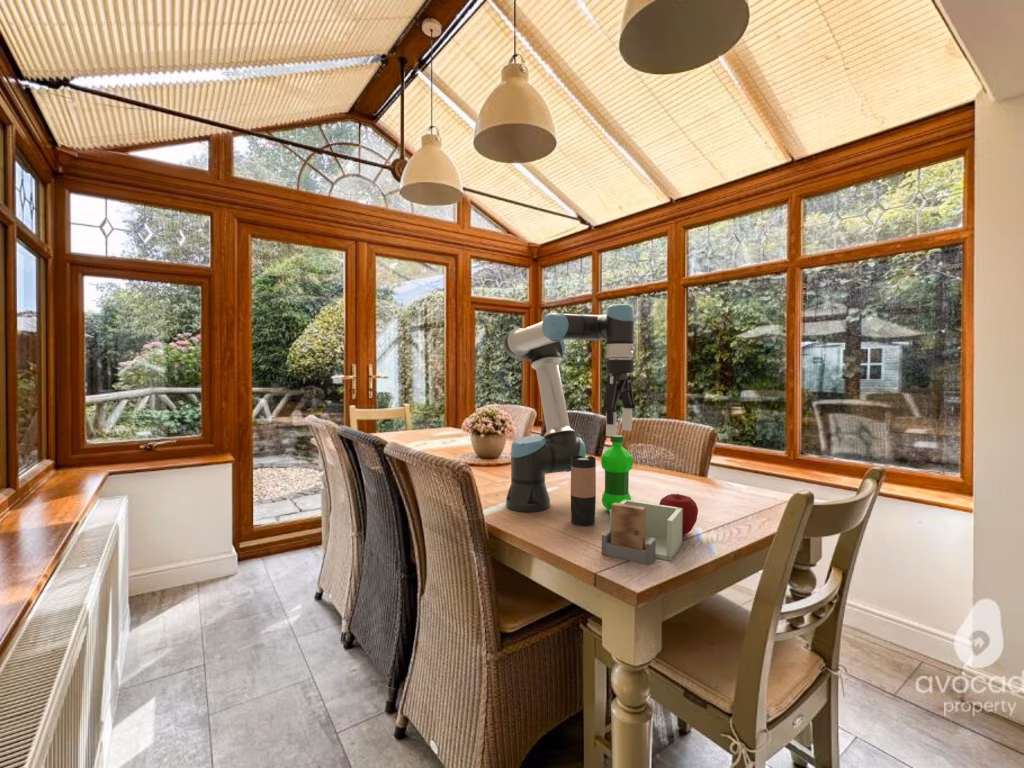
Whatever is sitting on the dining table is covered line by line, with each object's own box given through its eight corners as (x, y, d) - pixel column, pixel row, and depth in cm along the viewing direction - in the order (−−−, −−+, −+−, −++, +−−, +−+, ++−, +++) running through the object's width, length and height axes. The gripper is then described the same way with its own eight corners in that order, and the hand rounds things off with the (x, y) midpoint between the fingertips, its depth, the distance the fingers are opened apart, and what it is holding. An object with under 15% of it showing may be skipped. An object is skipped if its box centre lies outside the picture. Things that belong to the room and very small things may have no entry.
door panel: (610, 555, 119) (610, 505, 118) (614, 552, 121) (614, 502, 121) (641, 562, 115) (642, 510, 114) (644, 558, 117) (645, 507, 117)
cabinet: (601, 554, 120) (601, 515, 120) (623, 533, 134) (623, 499, 134) (666, 568, 111) (666, 527, 111) (682, 545, 126) (682, 508, 125)
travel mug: (580, 528, 139) (580, 461, 138) (565, 520, 146) (565, 456, 145) (600, 524, 143) (601, 458, 142) (585, 516, 149) (585, 454, 149)
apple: (653, 527, 140) (653, 488, 139) (689, 527, 140) (690, 488, 139) (664, 540, 129) (664, 498, 128) (703, 541, 129) (704, 499, 128)
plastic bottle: (613, 517, 148) (614, 439, 147) (594, 508, 158) (594, 434, 157) (639, 513, 152) (639, 437, 151) (619, 504, 162) (619, 432, 161)
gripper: (617, 358, 122) (617, 440, 123) (645, 359, 143) (644, 428, 144) (590, 358, 126) (590, 437, 126) (621, 359, 147) (621, 427, 148)
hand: (619, 433), depth 135 cm, fingers open, 13 cm apart
